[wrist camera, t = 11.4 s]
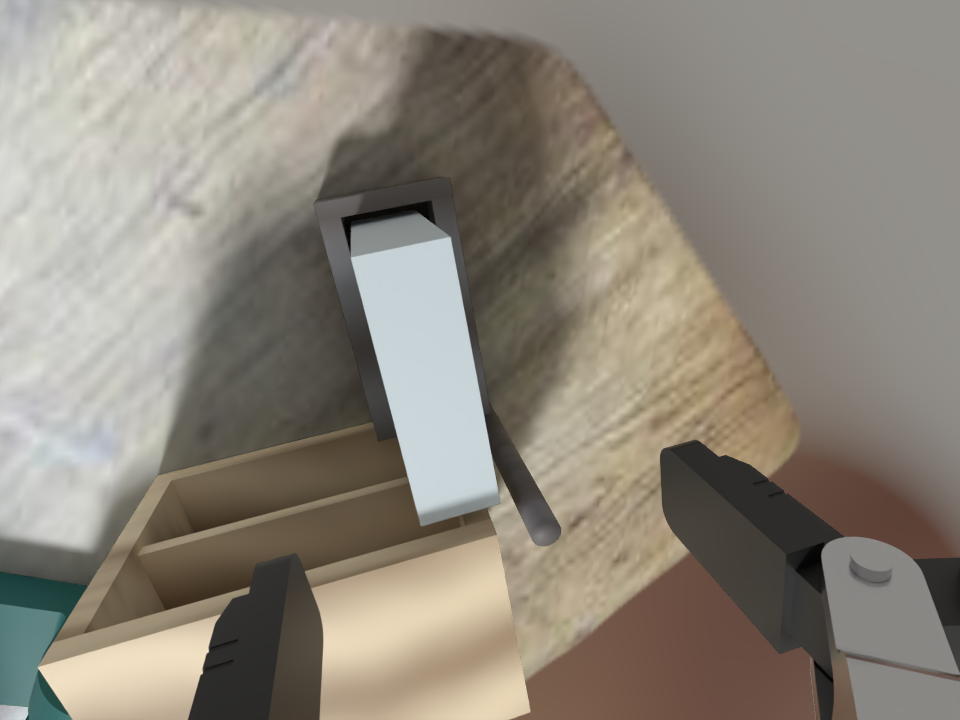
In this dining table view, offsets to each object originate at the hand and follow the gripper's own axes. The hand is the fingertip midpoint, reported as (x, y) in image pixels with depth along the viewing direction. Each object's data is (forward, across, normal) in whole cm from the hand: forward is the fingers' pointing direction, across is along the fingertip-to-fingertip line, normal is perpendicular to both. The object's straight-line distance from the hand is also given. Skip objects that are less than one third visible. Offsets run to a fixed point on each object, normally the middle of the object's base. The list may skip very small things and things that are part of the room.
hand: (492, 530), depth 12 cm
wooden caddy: (+19, +6, +5) cm, 20 cm away
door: (+19, 0, 0) cm, 19 cm away
